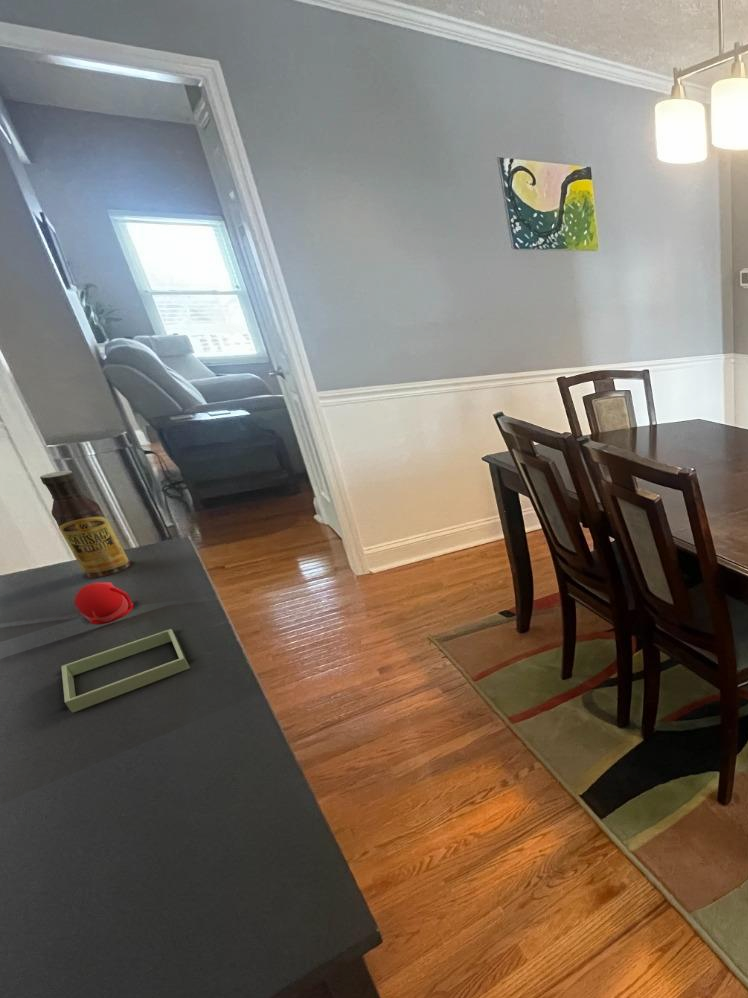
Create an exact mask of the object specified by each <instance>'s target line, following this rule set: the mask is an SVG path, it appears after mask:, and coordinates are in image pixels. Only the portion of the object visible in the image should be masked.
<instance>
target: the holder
mask: <svg viewBox="0 0 748 998" xmlns="http://www.w3.org/2000/svg"><path fill="white" fill-rule="evenodd" d="M167 643H172V645H173V647H174V650H175V652H176V655H177V657H178V659H174V660H172V661H169V662H166V663H164V664H161V665H157V666H156V667H152V668H150V669H148V670H144V671H142V672H138V673H136V674H134V675H131V676H128V677H126V678H123V679H120V680H117V681H115V682H112V683H109V684H107V685H104V686H101V687H99V688H98V687H97V688H95V689H93V690H90V691H88V692H85V693H82V694H79V695H76V694H77V693H76V689H75V688H76V687H75V679H74V676H77V675H80V674H82V673H85V672H88V671H91V670H94V669H97V668H99V667H102V666H105V665H108V664H111V663H114V662H117V661H120V660H123V659H124V658H128V657H131V656H133V655H136V654H139V653H142V652H145V651H147V650H151V649H154V648H156V647H160V646H162V645H165V644H167ZM60 669H61V678H62V690H63V699H64V700H63V701H64V703H65V705H66V707H67V709H68V710H69V711H70V712H71V713H72V714H74V713H76V712H79V711H82V710H85V709H87V708H90V707H92V706H96V705H97V704H100V703H103V702H105V701H108V700H111V699H112V698H116V697H118V696H121V695H124V694H126V693H129V692H132V691H134V690H136V689H139V688H142V687H144V686H147V685H150V684H153V683H156V682H158V681H160V680H163V679H165V678H168V677H172V676H174V675H176V674H180V673H181V672H184V671H187V670H189V669H191V667H190V664H189V663H188V660H187V658H186V656H185V653H184V652H183V649H182V646H181V644H180V642H179V639H178V638H177V636H176V634H175V632H174V631H173V629H172V628H170V629H166V630H163V631H159V632H157V633H155V634H152V635H149V636H145V637H143V638H140V639H139V638H138V639H136V640H134V641H131V642H128V643H125V644H122V645H120V646H116V647H113V648H110V649H108V650H104V651H101V652H99V653H95V654H93V655H90V656H87V657H83V658H81V659H78V660H75V661H72V662H70V663H66V664H63V665H61V667H60Z"/></svg>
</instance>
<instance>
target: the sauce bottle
mask: <svg viewBox="0 0 748 998" xmlns="http://www.w3.org/2000/svg"><path fill="white" fill-rule="evenodd" d="M39 478H40V480H41V483H42V484H43V485H44V486H45V487H46V488H47V490H48V492H49V494H50V495H51V499H52V500H53V501H52V507H51V511H50V513H51V516H52V517H53V519H54V521H55V522H56V524H57V526H58V530H59V531H60V533H61V535H62V536H63V538H64V541H65V542H66V544H67V545H68V547H69V549H70V551H71V552H72V554H73V556H74V559H75V560H76V561H77V564H78V565H79V567H80V568H81V570H82V572H83V573H85V576H86V577H87V578H91V579H92V578H93V579H96V578H102V577H106V576H111V575H113V574H116V573H120V572H122V571H124V570H126V569H127V568H128V567H130V566H131V563H130V560H129V558H128V556H127V554H126V552H125V550H124V549H123V547H122V545H121V543H120V541H119V539H118V538H117V536H116V533H115V531H114V530H113V527H112V526H111V524H110V522H109V520H108V518H107V517H106V516H105V514H104V512H103V510H102V508H101V506H100V505H99V504H98V503H97V502H95V501H94V500H93V499H91V498H89V496H86V495H85V494H84V492H83V491H82V490H81V487H80V486H79V484H78V482H77V479H76V478H77V477H76V475H75V473H74V472H73V471H72V470H61V471H53V472H49V473H45V474H42V475H40V477H39Z"/></svg>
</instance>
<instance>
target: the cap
mask: <svg viewBox="0 0 748 998" xmlns="http://www.w3.org/2000/svg"><path fill="white" fill-rule="evenodd" d="M134 605H135V603H133V602H132V600H131V597H130V595H129V594H128V593H127V592H126V591H124V590H122V589H120V588H118V587H116V586H114V584H113V583H112V582H109V581H108V582H107V581H106V582H93V583H92V582H91V583H89V584H87V585H84V586H83V587H81V588H80V589H79V590H78V592H77V593H76V594H75V598H74V606H75V607H76V609H77V610H78V611H79V612H80V614H82V616H84V618H86V619H87V620H88V621H89V623H90V624H91V625H96V626H97V625H99V626H100V625H105V624H109V623H112V622H115V621H118V620H119V619H122V618H123V617H126V616H128V614H130V612H131V611H132V610H133V609H134V607H135V606H134Z"/></svg>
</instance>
